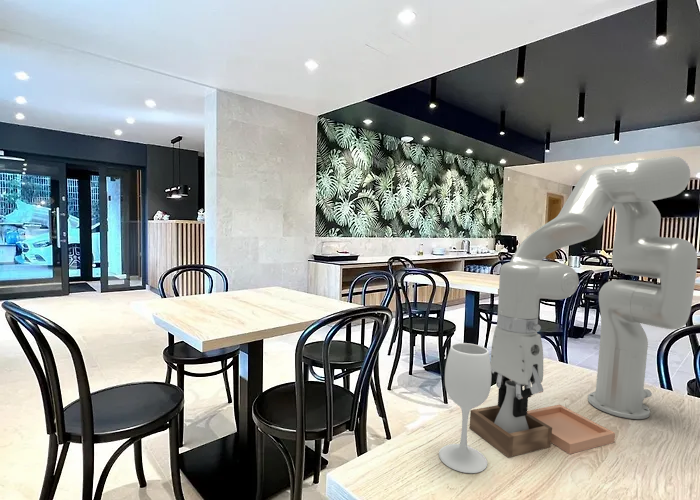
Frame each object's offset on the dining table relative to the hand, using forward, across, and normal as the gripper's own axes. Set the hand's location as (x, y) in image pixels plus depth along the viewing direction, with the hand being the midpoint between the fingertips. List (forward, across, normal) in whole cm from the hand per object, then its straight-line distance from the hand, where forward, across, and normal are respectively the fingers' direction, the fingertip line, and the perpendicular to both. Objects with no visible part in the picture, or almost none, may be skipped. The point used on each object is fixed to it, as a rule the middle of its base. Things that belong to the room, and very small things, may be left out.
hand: (512, 410), depth 79 cm
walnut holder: (+6, 0, +1) cm, 6 cm away
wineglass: (+6, -3, +15) cm, 16 cm away
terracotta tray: (+6, -2, -13) cm, 14 cm away
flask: (+5, 0, 0) cm, 5 cm away
